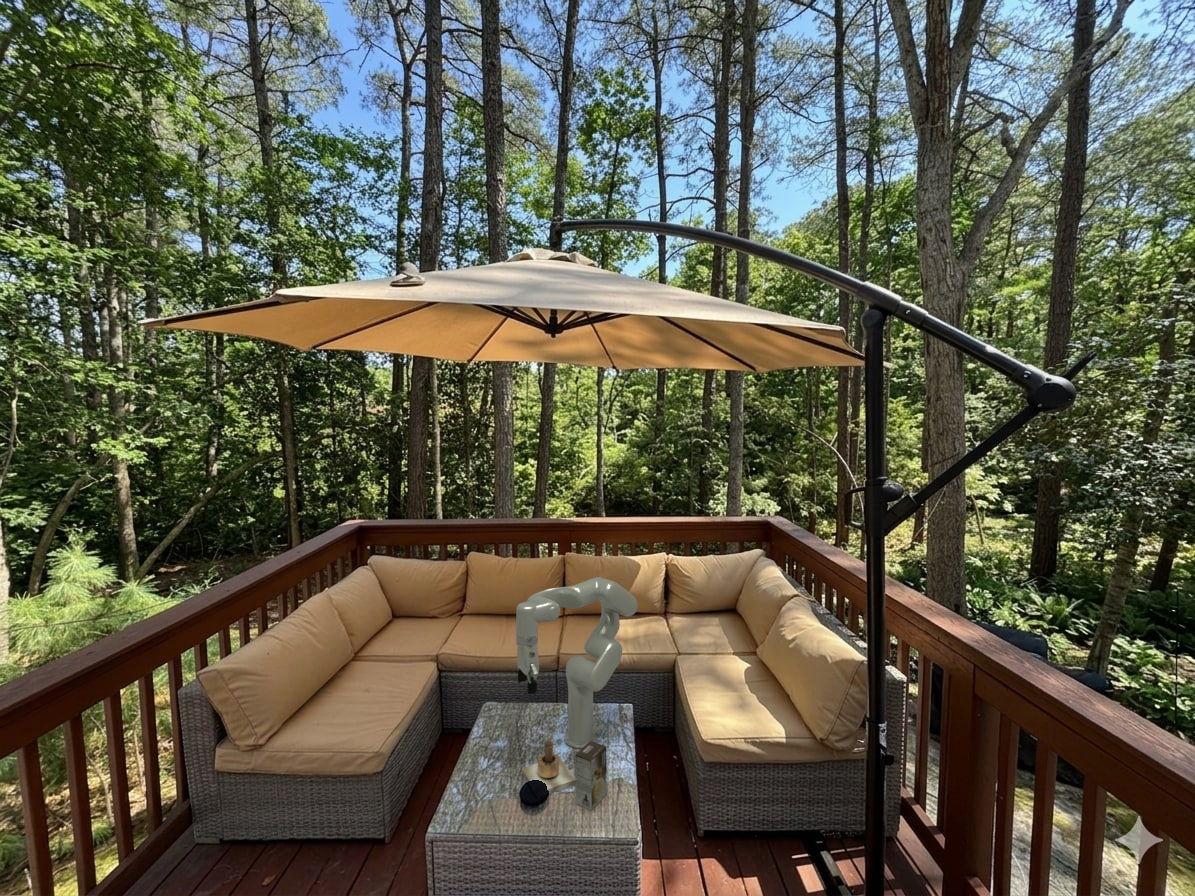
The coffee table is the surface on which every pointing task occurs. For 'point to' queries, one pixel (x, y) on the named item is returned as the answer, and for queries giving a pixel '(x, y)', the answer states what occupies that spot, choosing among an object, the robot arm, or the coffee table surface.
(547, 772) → the beige thick ring
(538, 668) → the robot arm
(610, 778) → the coffee table surface
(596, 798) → the coffee box
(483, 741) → the coffee table surface
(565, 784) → the post board
